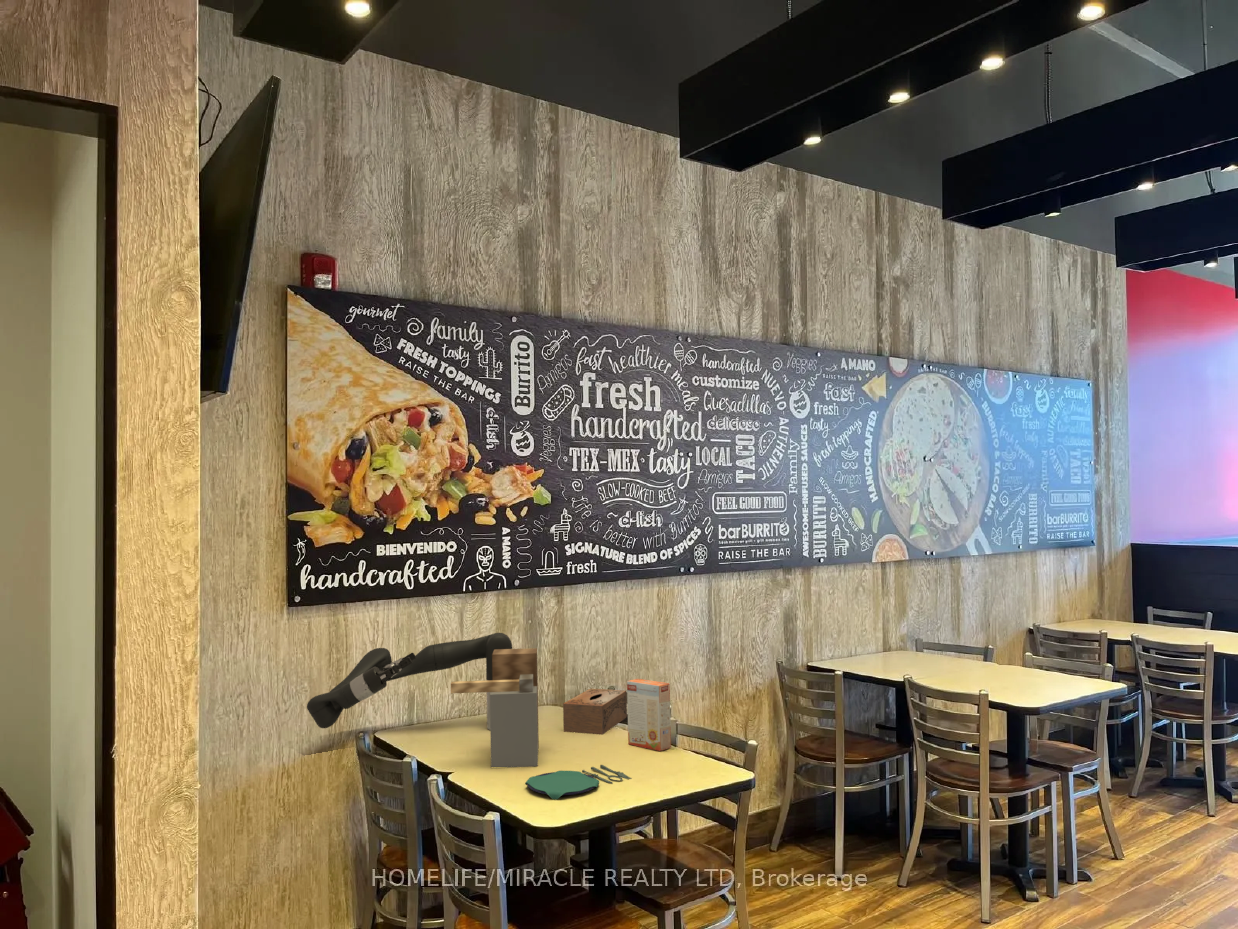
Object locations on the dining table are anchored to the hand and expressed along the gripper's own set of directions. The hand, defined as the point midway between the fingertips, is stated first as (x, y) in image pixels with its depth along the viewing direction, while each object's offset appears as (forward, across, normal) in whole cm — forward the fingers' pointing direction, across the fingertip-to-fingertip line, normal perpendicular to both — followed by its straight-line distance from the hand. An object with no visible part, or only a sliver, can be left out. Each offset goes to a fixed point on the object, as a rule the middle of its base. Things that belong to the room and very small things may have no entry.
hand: (412, 657), depth 289 cm
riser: (+13, +2, -43) cm, 45 cm away
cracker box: (+51, +2, -64) cm, 82 cm away
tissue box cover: (+37, -30, -57) cm, 74 cm away
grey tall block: (+13, +14, -43) cm, 47 cm away
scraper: (+18, +14, -20) cm, 30 cm away
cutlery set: (+29, +37, -53) cm, 71 cm away
